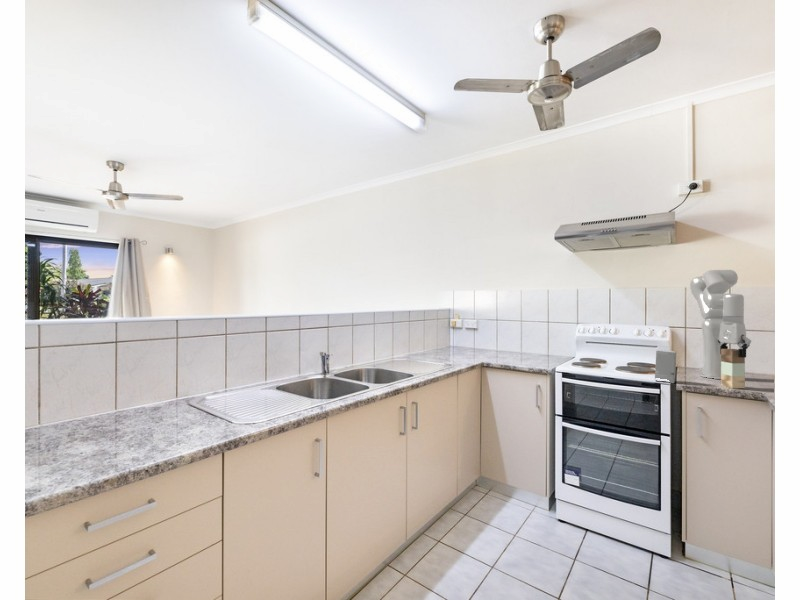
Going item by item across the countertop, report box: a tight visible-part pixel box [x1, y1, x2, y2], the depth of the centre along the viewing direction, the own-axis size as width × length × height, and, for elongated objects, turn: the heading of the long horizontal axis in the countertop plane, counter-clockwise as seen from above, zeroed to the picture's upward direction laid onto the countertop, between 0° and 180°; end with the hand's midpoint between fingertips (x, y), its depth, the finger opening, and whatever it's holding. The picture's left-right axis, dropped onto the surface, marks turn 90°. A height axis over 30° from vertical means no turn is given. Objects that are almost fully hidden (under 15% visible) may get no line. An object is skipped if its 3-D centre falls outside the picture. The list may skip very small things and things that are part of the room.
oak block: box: [720, 374, 746, 389], centre depth 179 cm, size 6×6×6 cm
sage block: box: [721, 361, 746, 377], centre depth 179 cm, size 6×6×6 cm
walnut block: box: [721, 348, 746, 364], centre depth 179 cm, size 6×6×6 cm
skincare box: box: [654, 349, 677, 384], centre depth 192 cm, size 8×7×16 cm
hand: (732, 355), depth 179 cm, fingers open, 9 cm apart
